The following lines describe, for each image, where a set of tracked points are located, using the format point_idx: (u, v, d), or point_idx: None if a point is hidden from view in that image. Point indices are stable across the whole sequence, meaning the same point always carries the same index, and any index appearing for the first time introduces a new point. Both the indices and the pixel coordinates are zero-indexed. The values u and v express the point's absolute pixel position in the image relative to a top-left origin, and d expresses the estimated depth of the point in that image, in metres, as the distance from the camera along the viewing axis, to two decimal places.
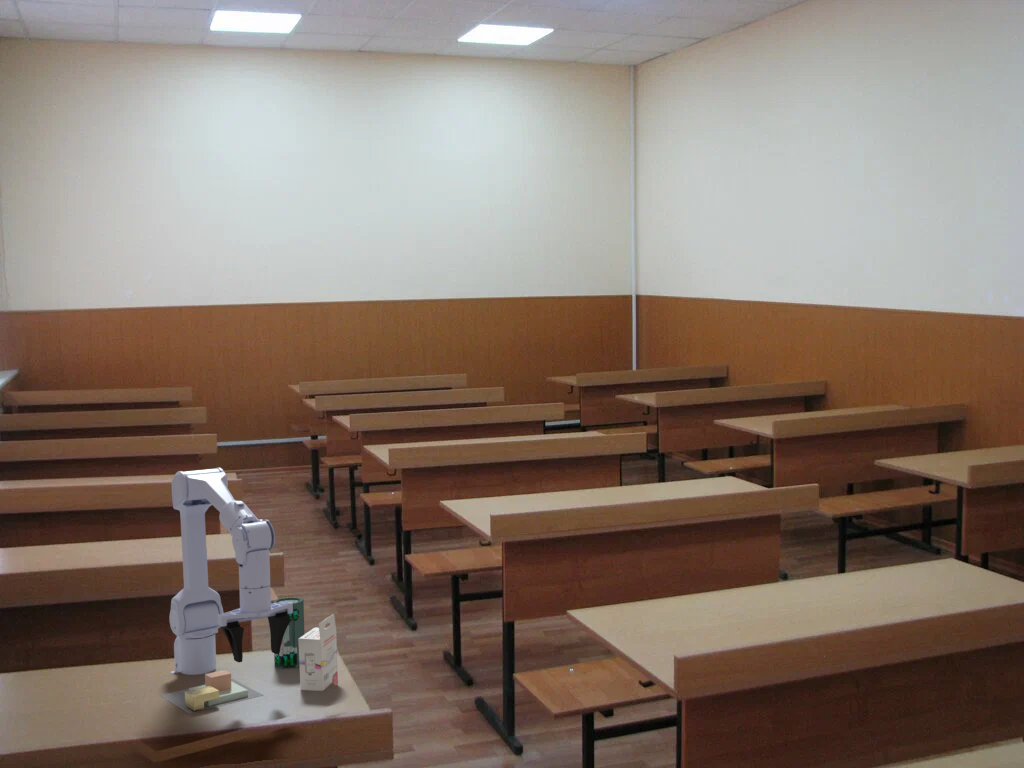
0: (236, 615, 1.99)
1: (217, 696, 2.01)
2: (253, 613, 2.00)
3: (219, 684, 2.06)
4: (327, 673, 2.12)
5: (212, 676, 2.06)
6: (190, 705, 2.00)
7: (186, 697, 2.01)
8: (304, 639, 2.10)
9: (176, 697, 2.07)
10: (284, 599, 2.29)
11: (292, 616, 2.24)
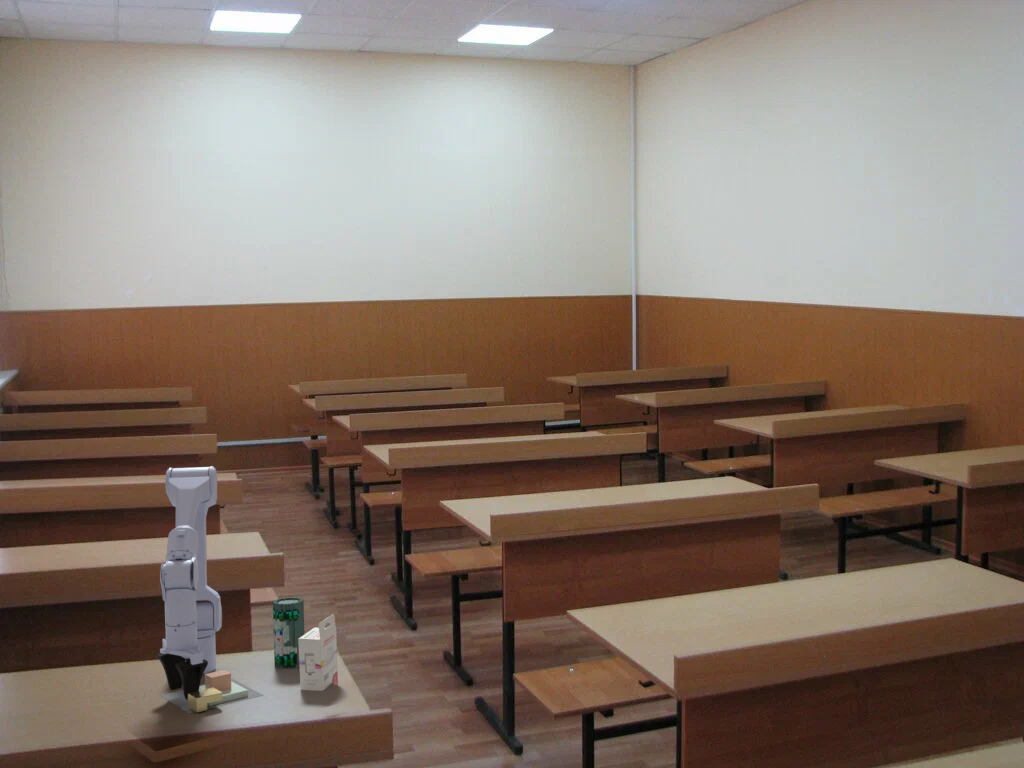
0: (164, 643, 2.07)
1: (220, 698, 2.00)
2: None
3: (219, 684, 2.06)
4: (327, 673, 2.12)
5: (212, 676, 2.06)
6: (193, 707, 1.99)
7: (189, 699, 2.00)
8: (304, 639, 2.10)
9: (176, 697, 2.07)
10: (284, 599, 2.29)
11: (292, 616, 2.24)
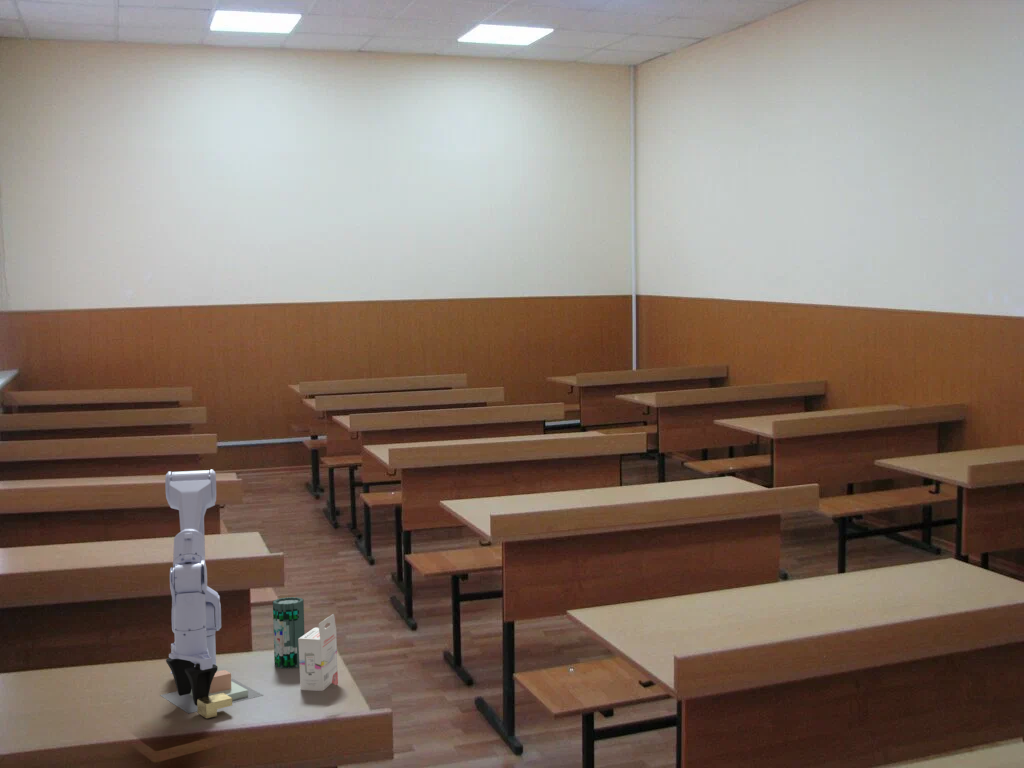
0: (173, 648, 2.03)
1: (230, 703, 1.97)
2: (175, 651, 2.01)
3: (219, 684, 2.06)
4: (327, 673, 2.12)
5: None
6: (203, 713, 1.95)
7: (198, 705, 1.97)
8: (304, 639, 2.10)
9: (176, 697, 2.07)
10: (284, 599, 2.29)
11: (292, 616, 2.24)
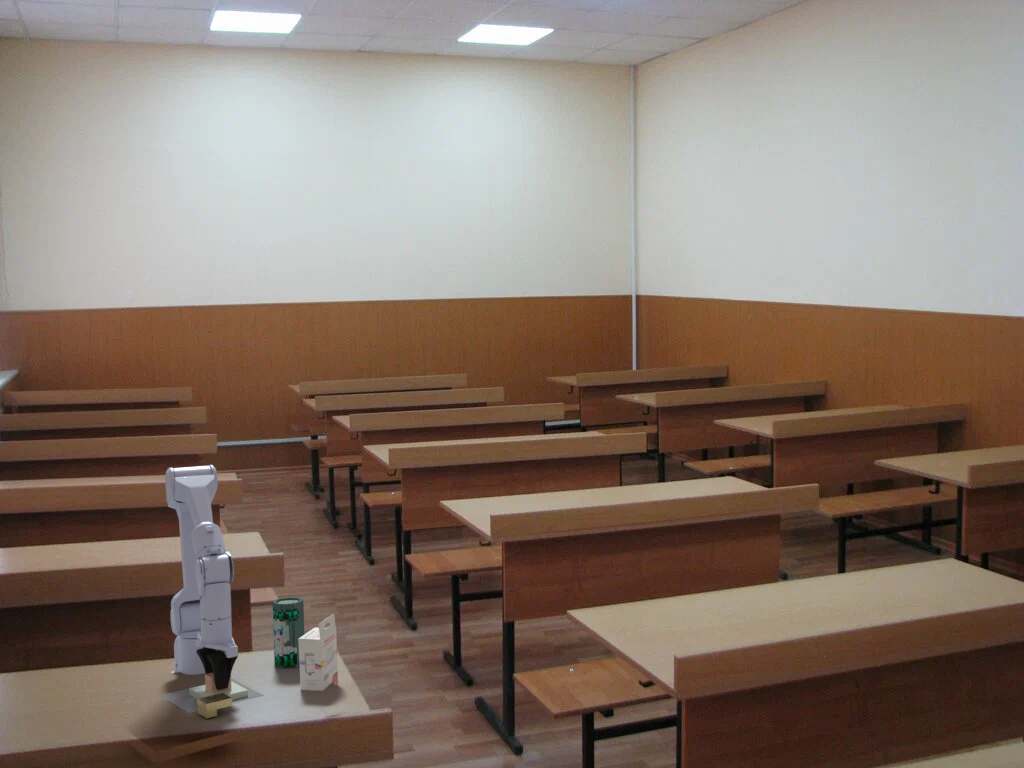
0: (199, 637, 2.10)
1: (230, 703, 1.97)
2: (201, 640, 2.07)
3: None
4: (327, 673, 2.12)
5: (212, 676, 2.06)
6: (203, 713, 1.95)
7: (198, 705, 1.97)
8: (304, 639, 2.10)
9: (176, 697, 2.07)
10: (284, 599, 2.29)
11: (292, 616, 2.24)
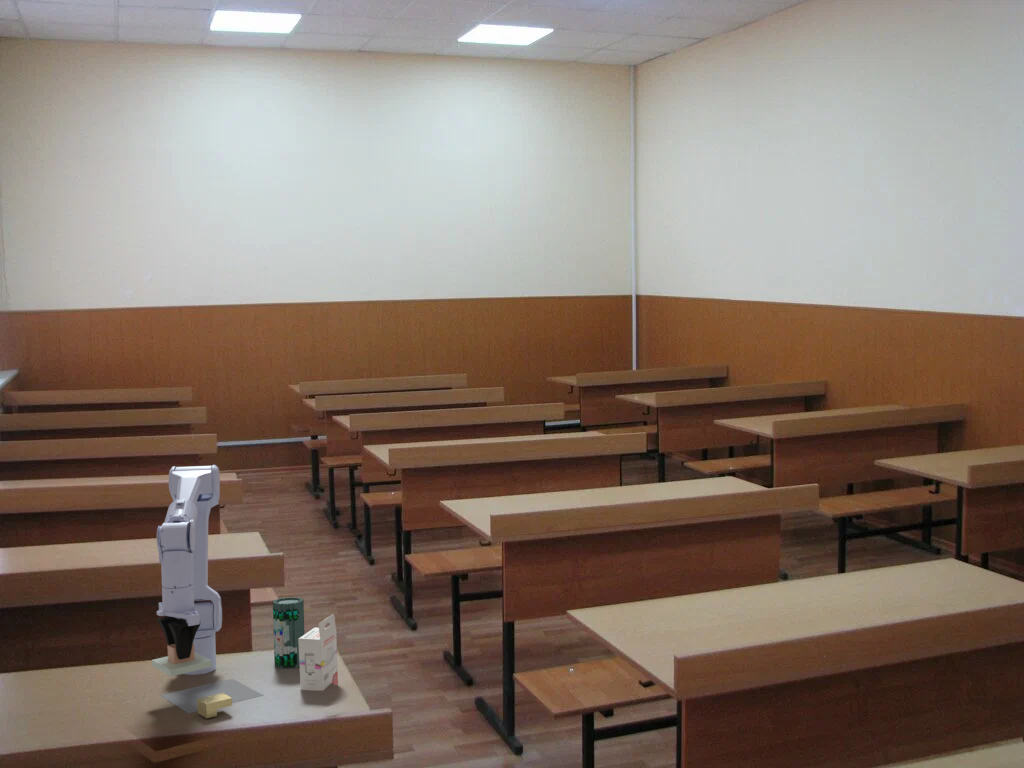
0: (161, 606, 2.06)
1: (230, 703, 1.97)
2: (163, 609, 2.04)
3: None
4: (327, 673, 2.12)
5: (175, 647, 2.03)
6: (203, 713, 1.95)
7: (198, 705, 1.97)
8: (304, 639, 2.10)
9: (176, 697, 2.07)
10: (284, 599, 2.29)
11: (292, 616, 2.24)
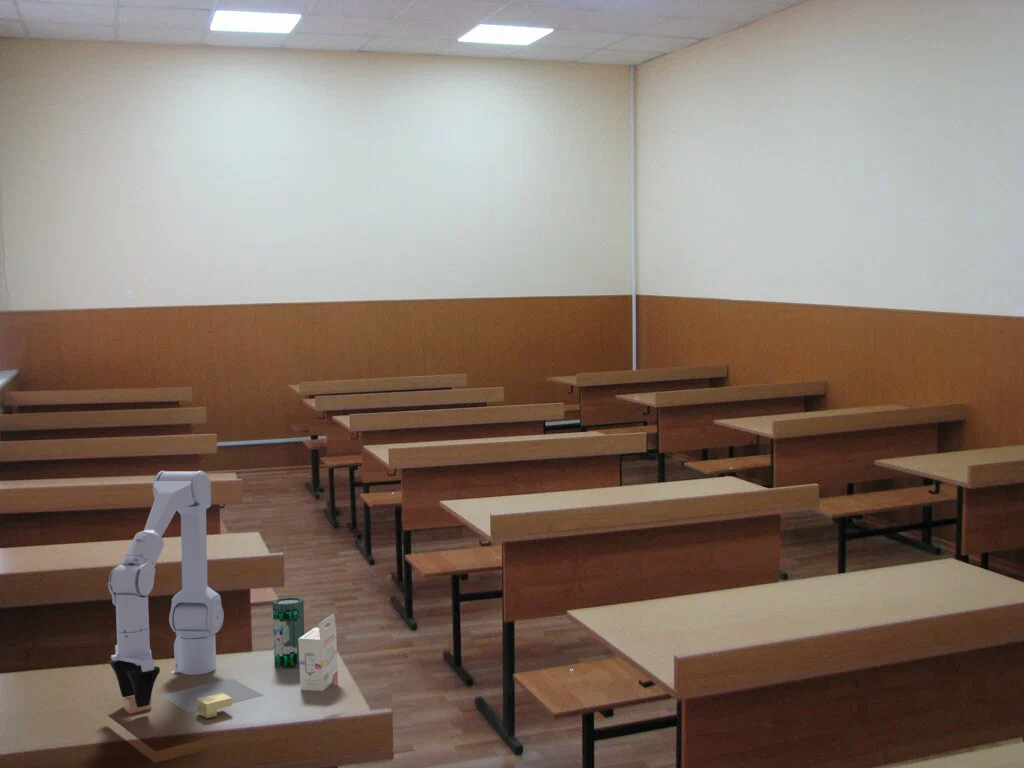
0: None
1: (230, 703, 1.97)
2: (118, 653, 2.00)
3: (138, 708, 2.00)
4: (327, 673, 2.12)
5: (131, 700, 1.99)
6: (203, 713, 1.95)
7: (198, 705, 1.97)
8: (304, 639, 2.10)
9: (176, 697, 2.07)
10: (284, 599, 2.29)
11: (292, 616, 2.24)
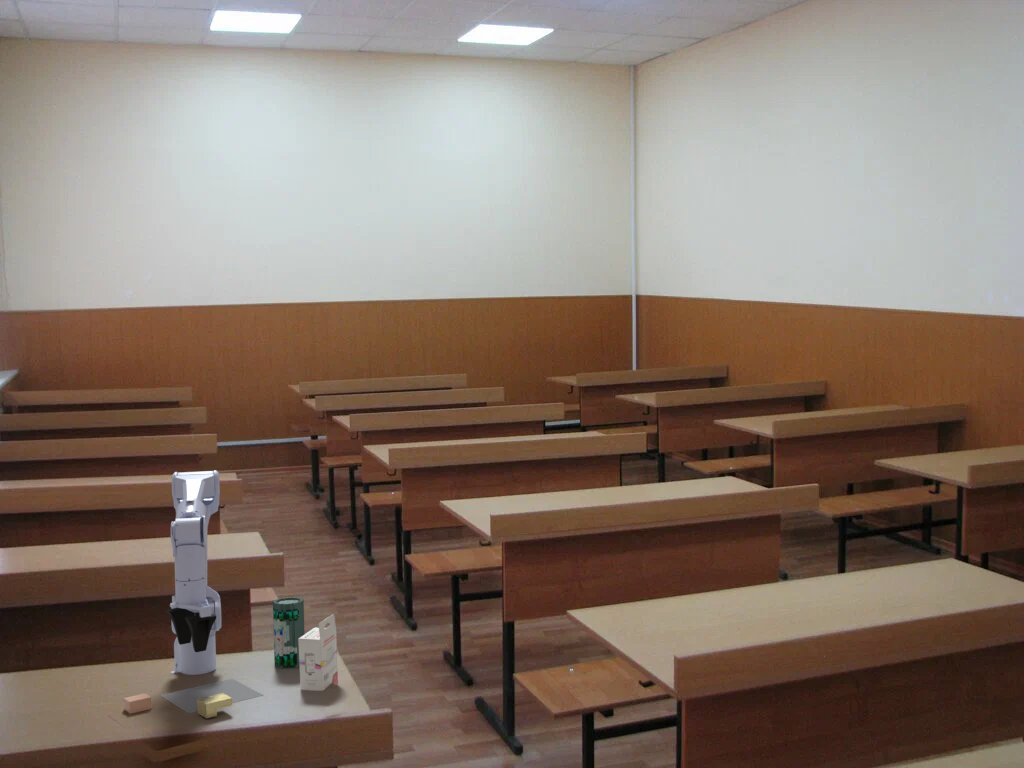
0: (174, 599, 2.14)
1: (230, 703, 1.97)
2: (176, 601, 2.11)
3: (138, 708, 2.00)
4: (327, 673, 2.12)
5: (131, 700, 1.99)
6: (203, 713, 1.95)
7: (198, 705, 1.97)
8: (304, 639, 2.10)
9: (176, 697, 2.07)
10: (284, 599, 2.29)
11: (292, 616, 2.24)
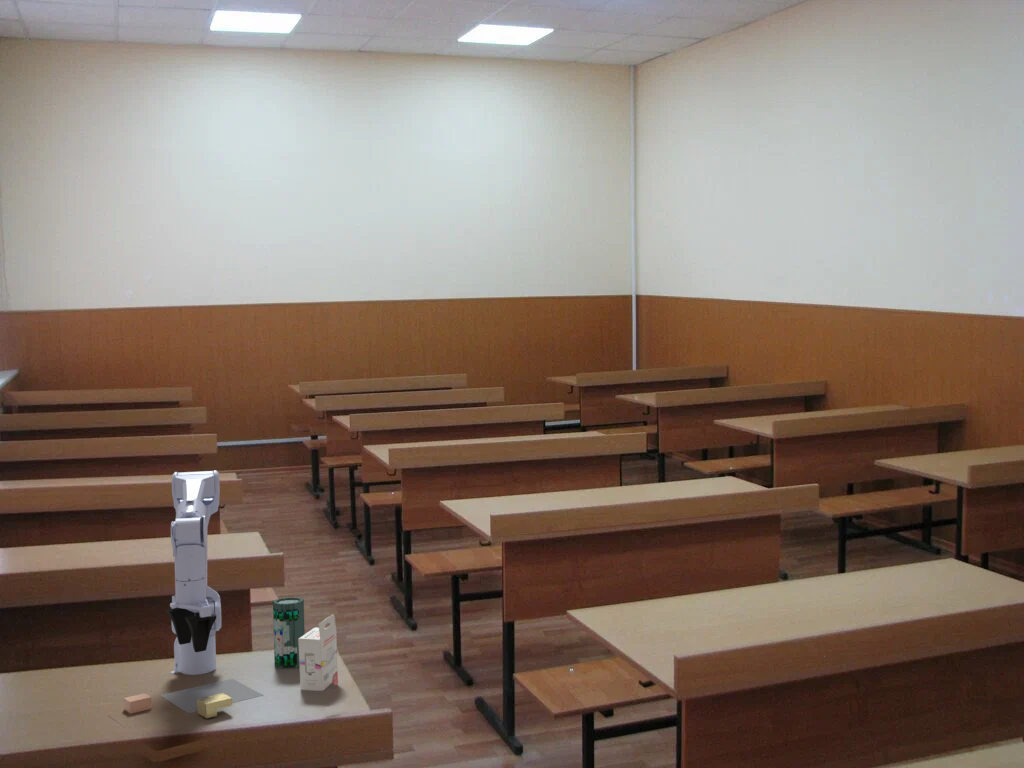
0: (174, 599, 2.14)
1: (230, 703, 1.97)
2: (176, 601, 2.11)
3: (138, 708, 2.00)
4: (327, 673, 2.12)
5: (131, 700, 1.99)
6: (203, 713, 1.95)
7: (198, 705, 1.97)
8: (304, 639, 2.10)
9: (176, 697, 2.07)
10: (284, 599, 2.29)
11: (292, 616, 2.24)
